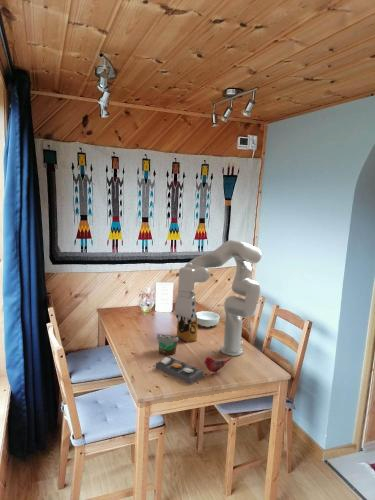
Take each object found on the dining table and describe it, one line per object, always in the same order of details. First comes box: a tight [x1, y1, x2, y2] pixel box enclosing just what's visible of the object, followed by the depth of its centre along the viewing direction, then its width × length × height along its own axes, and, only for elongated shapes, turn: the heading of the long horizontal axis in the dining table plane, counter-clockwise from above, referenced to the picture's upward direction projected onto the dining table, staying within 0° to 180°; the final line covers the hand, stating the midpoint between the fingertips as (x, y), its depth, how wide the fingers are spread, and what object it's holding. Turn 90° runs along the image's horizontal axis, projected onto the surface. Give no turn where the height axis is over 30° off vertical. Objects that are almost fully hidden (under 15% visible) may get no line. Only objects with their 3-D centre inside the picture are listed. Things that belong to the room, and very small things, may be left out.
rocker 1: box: [160, 356, 171, 365], centre depth 184 cm, size 4×3×1 cm
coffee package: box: [176, 315, 199, 343], centre depth 223 cm, size 10×12×22 cm
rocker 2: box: [183, 368, 194, 373], centre depth 175 cm, size 4×3×1 cm
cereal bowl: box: [196, 310, 221, 328], centre depth 249 cm, size 17×17×7 cm
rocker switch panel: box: [155, 356, 204, 385], centre depth 181 cm, size 10×22×4 cm, turn 51°
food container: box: [156, 332, 180, 357], centre depth 201 cm, size 12×6×10 cm, turn 68°
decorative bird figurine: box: [203, 356, 232, 376], centre depth 182 cm, size 3×18×10 cm, turn 125°
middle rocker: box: [172, 363, 182, 368], centre depth 180 cm, size 4×3×1 cm
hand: (183, 329), depth 180 cm, fingers open, 2 cm apart
